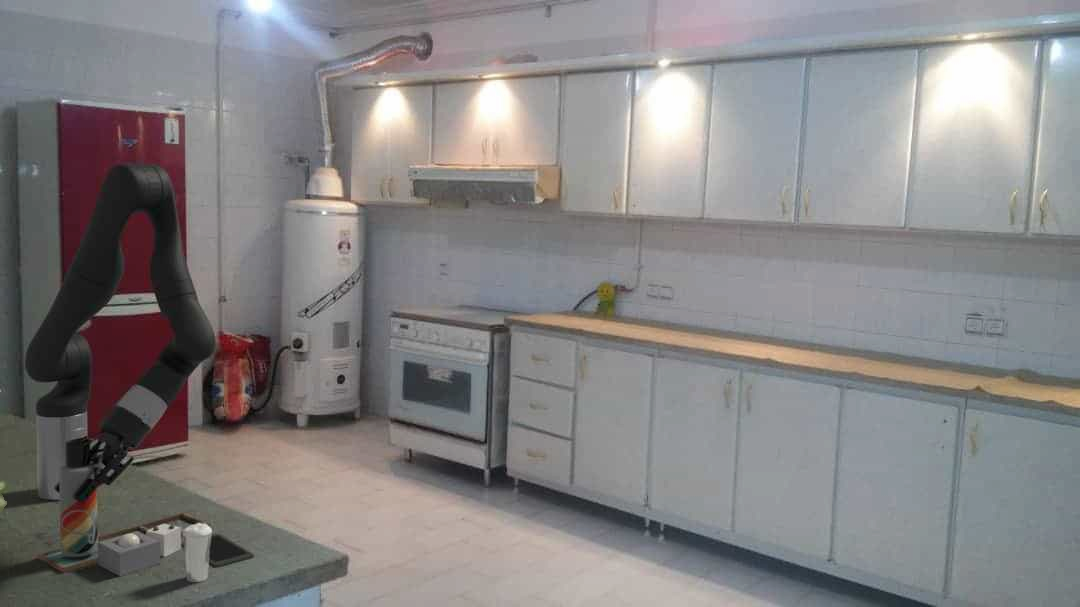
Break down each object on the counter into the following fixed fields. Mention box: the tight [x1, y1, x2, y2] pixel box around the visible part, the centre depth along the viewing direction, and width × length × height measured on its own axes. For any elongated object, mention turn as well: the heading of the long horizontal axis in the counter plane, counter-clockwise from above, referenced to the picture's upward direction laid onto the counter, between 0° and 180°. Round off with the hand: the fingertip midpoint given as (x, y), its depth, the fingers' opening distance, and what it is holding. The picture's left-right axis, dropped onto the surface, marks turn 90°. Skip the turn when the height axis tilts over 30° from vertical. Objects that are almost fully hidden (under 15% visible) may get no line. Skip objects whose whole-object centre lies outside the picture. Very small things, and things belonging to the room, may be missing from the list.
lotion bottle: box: [59, 438, 99, 557], centre depth 151 cm, size 6×6×20 cm
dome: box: [118, 533, 140, 548], centre depth 150 cm, size 3×3×5 cm
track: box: [37, 512, 212, 574], centre depth 160 cm, size 9×28×1 cm, turn 144°
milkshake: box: [177, 519, 213, 583], centre depth 146 cm, size 4×5×10 cm
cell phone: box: [181, 533, 255, 568], centre depth 158 cm, size 7×14×1 cm, turn 47°
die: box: [145, 523, 182, 558], centre depth 157 cm, size 4×4×5 cm
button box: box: [97, 531, 161, 577], centre depth 150 cm, size 7×7×4 cm
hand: (68, 496), depth 150 cm, fingers closed on lotion bottle, 5 cm apart
